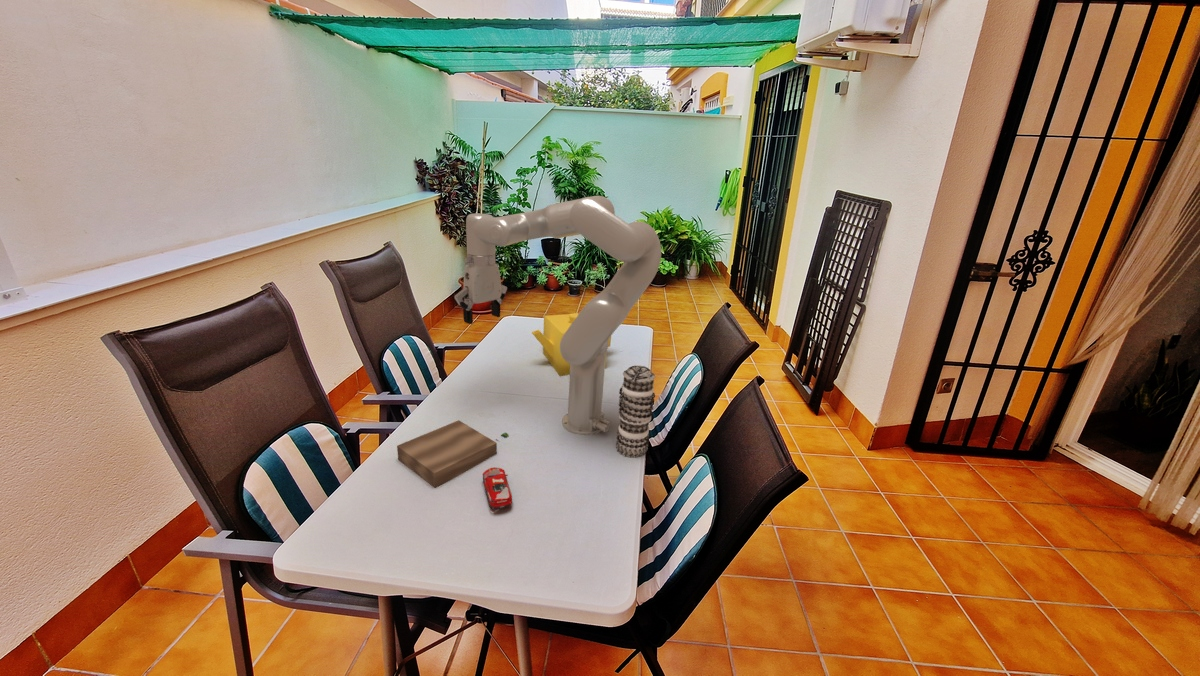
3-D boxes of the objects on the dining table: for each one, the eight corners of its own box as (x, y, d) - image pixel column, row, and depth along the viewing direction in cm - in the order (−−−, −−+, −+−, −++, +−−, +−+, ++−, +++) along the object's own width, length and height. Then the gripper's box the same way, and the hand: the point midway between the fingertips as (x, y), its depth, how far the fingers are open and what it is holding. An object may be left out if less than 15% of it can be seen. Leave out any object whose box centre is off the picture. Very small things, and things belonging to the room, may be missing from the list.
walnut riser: (496, 456, 126) (496, 442, 125) (435, 487, 113) (434, 473, 112) (459, 432, 136) (458, 420, 134) (398, 459, 122) (397, 445, 121)
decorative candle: (620, 467, 125) (628, 378, 117) (609, 447, 134) (616, 363, 125) (653, 463, 128) (663, 376, 119) (640, 444, 136) (649, 361, 128)
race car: (481, 476, 117) (480, 462, 116) (504, 472, 119) (504, 458, 117) (488, 513, 106) (488, 499, 104) (514, 509, 108) (513, 494, 106)
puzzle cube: (501, 438, 135) (501, 430, 135) (508, 441, 134) (508, 434, 133) (490, 444, 132) (490, 436, 131) (498, 448, 131) (498, 440, 130)
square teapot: (519, 356, 189) (520, 303, 182) (591, 349, 201) (594, 299, 194) (546, 396, 159) (548, 335, 152) (628, 385, 171) (634, 328, 164)
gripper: (463, 266, 126) (465, 329, 132) (514, 259, 139) (514, 316, 145) (446, 261, 130) (448, 322, 136) (497, 254, 143) (497, 310, 149)
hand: (482, 319), depth 140 cm, fingers open, 9 cm apart
